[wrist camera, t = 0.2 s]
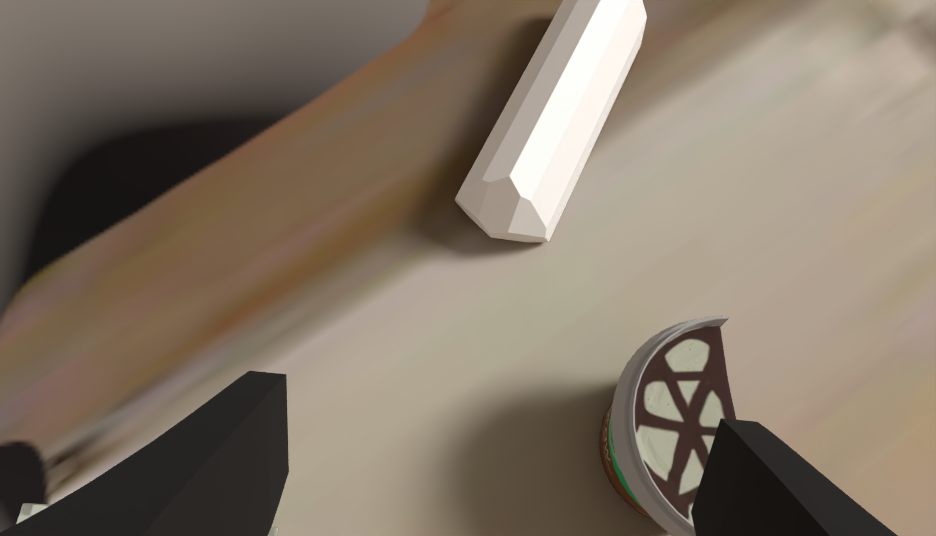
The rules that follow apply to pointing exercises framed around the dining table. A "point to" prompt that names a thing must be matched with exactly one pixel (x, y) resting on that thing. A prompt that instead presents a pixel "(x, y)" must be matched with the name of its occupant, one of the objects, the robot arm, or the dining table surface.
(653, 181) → the dining table surface
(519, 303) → the dining table surface
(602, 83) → the white trapezoid ingot
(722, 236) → the dining table surface
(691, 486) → the food container
